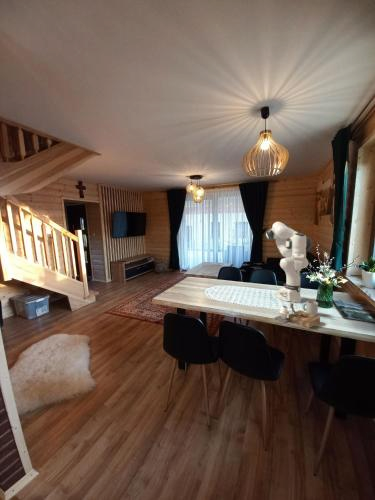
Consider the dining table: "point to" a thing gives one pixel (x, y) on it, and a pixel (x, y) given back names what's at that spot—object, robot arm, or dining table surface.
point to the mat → (281, 319)
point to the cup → (311, 307)
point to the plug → (283, 312)
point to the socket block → (304, 319)
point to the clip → (292, 309)
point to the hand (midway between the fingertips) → (297, 274)
